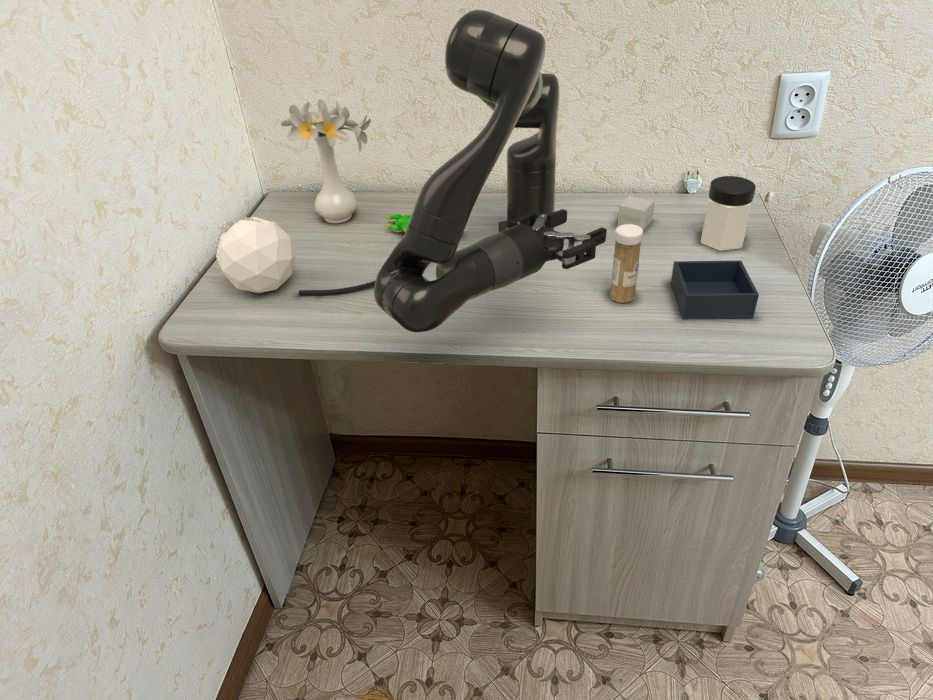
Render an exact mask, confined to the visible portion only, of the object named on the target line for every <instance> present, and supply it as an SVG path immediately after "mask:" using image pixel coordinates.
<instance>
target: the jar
mask: <svg viewBox="0 0 933 700" xmlns="http://www.w3.org/2000/svg"><path fill="white" fill-rule="evenodd" d="M709 185H710V186H709V191H708V199H707V204H706V209H705V215H704V221H703V226H702V231H701V238H700V244H702V245H704V246H706V247H709V248H712V249H713V250H716V251H718V252H722V251H732V250H740V249H743V247H744V242H745V236H746V232H747V228H748V223H749V220H750V216H751V215H750V214H751V210H752V205H753V201H754V197H755V193H756V188H757V187H756V184H755V183H754V181H752V180H750V179H748V178H745V177H741V176H736V175H735V176H734V175H723V176H719V177H716V178H714V179H712V180H711V181H710V184H709Z"/></svg>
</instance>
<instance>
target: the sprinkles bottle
mask: <svg viewBox="0 0 933 700" xmlns="http://www.w3.org/2000/svg"><path fill="white" fill-rule="evenodd" d="M643 238H644V230H642V228H641V227H639V226H637V225H633V224H624V225H620V226H618V225H617V227H616V228H615V231H614V240H615V244H614V253H613V258H612V259H613V260H612V270H611V286H610V287H611V288H610V292H609V297H610V299H611V300H612V301H613V302H616V303H620V304H627V303H631V302H632V301H634V300H635V299H636V289H637V282H638V275H639V266H640V253H641V247H642V246H641V245H642V242H643Z"/></svg>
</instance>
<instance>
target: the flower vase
mask: <svg viewBox="0 0 933 700" xmlns="http://www.w3.org/2000/svg"><path fill="white" fill-rule="evenodd" d="M335 105H336V106H333V107H332V108H330V109H328V106H327V103H326V102H325V100H323V99H322V98H319V99H318V100H317V108H318V111H316V110H311V111H309V109H310V106H311V103H310V102H309V101H307V102H305V103H304V104H303V106H302V107H301V110H300V109H299V108H298V106H297V105H296V104H290V106H289V107H288V108H289V109H288V111H289V112H288V113H289V115H290V117H289V118H286V119H284V120H282V121H281V122H280V126H281V127H291V128H290V131H289V132H288V133H287V136H286V137H287V139H288V140H289V141H296V140H298V139H300V140H299V147H300V149H301V150H302V151H306V150H307V148H308V145H309V141H310V139H313V140H314V141H315V144H316V147H317V150H318V152H319V158H320V164H321V169H322V170H321V171H322V186H321V190H320V191H319V192H318V194H317V195H316V196H315V199H314V210H315V211H316V213H317V214H318V215H320V216H321V218H322V217H323V219H324V221H325V222H326V223H329V224H342V223H345V222H348V221H349V220H350V219H351V218H352V217H353V213H354V212H355V210H356V209H357V206H358V200H357V198H356V195H355V194H354V193H353V192H352V190H350V189H349V188H347V187H346V186H345V185H344V183H343V182H342V179H341V177H340V175H339V170H338V167H337V162H336V156H335V150H334V149H335V148H334V147H335V145H336V143H337V141H336V140H337V139H338V140H341V141H343V142H348V141H349V139H350V137H349V135H348V134H347V133H346V132H345V131H343V130H346V131H351V132H353V134H354V136H355V139H356V142H357V146H358V152H359V153H361V152H362V146H363V144H364V145H367V144H368V135H367V133H366V132H365V131H366V130H367V129H368V128H369V126H370V125H371V121H372V119H371V118H368V119H367V117H368V115H367V114H365V116H364V117H363V118H362V120H361V121H360V122H359V123H358V122H357V121H356V120H353V119H350V110H349V109H348V107H347V106H343V107H341V105H340V104H339V102H338V101H337V100H335ZM313 126H314V127H315V128H314V127H313ZM362 143H363V144H362Z"/></svg>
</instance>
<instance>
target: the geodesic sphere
mask: <svg viewBox="0 0 933 700" xmlns="http://www.w3.org/2000/svg"><path fill="white" fill-rule="evenodd" d="M222 225H223V226H221V227H220V228H219V230H221V231H223V233H222V234H221V235H220V238H219V242H218V246H217V249H216V254H215V257H216V260H217V262H218V265H219V266H220V269H221V271H222V274H223V276H225V277H226V279H227V280H228V281H229V282H230V283H231V284H232V285H233V286H234V287H235V288H236V289H237V290H241V291H245V292H251V293H254V294H255V293H256V294H263V293H267V292H271V291H276V290H278V289H279V288H280V287H281V286H282V285H283V284H284V283H285V282H287V280H288V279H289V278H290V277H291V276H292V275H293V271H294V267H295V262H296V258H297V253H296V250H295V247H294V245H293V242H292V241H293V240H292V237H290V235H288V233H287V232H285V230H284V229H283V228H282V227H281V226H280V225H279V224H278V223H276V222H273V221H270V220H267V219H264V218H260V217H257V216H252V217H249V216H248V217H247V216H246V215H245V216H243V219H240V220H237V221H234V222H231V221H230V222H227V223H226V224H222Z"/></svg>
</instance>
